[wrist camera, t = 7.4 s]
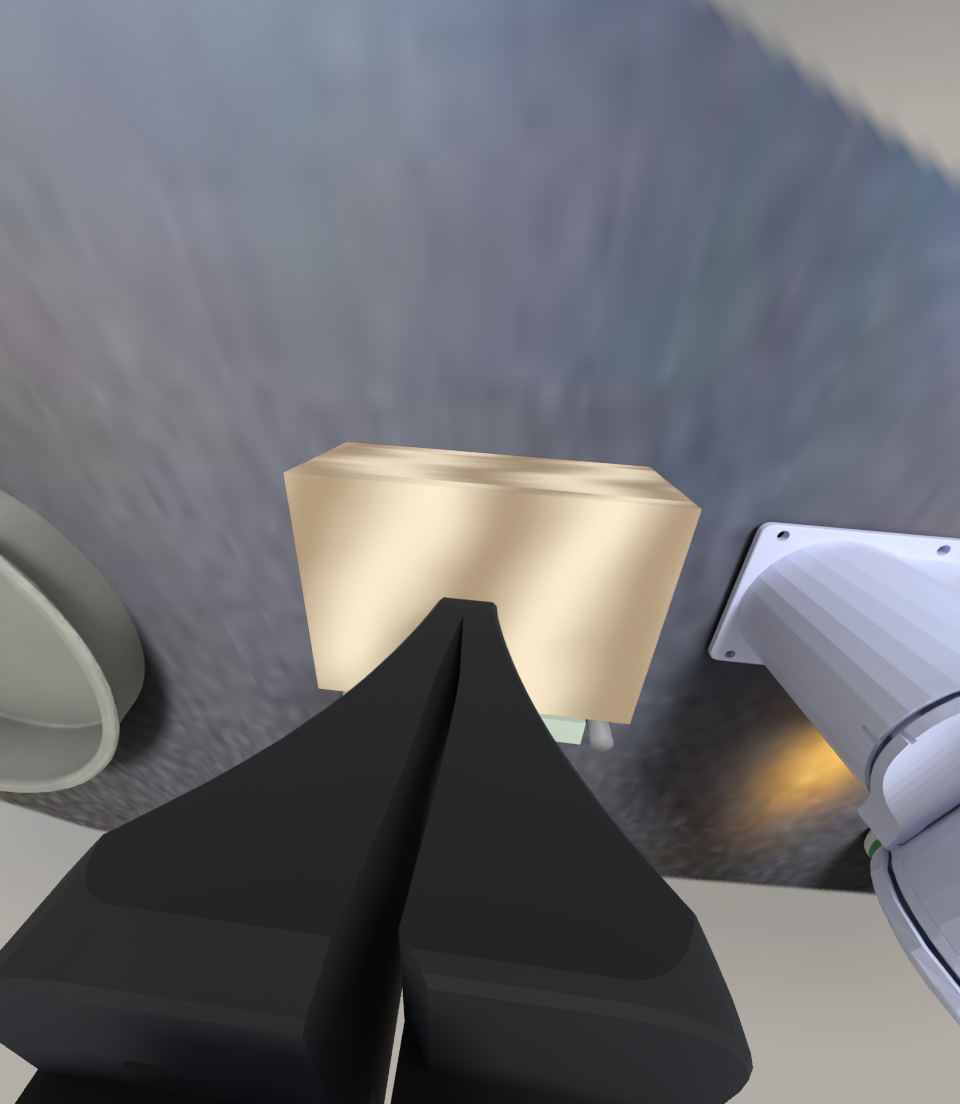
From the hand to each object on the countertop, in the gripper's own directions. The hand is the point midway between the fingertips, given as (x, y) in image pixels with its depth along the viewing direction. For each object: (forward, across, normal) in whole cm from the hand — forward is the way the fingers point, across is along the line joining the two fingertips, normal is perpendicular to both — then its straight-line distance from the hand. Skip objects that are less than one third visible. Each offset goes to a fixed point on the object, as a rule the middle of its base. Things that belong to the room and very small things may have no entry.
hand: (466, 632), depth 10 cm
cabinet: (+10, 0, +3) cm, 11 cm away
